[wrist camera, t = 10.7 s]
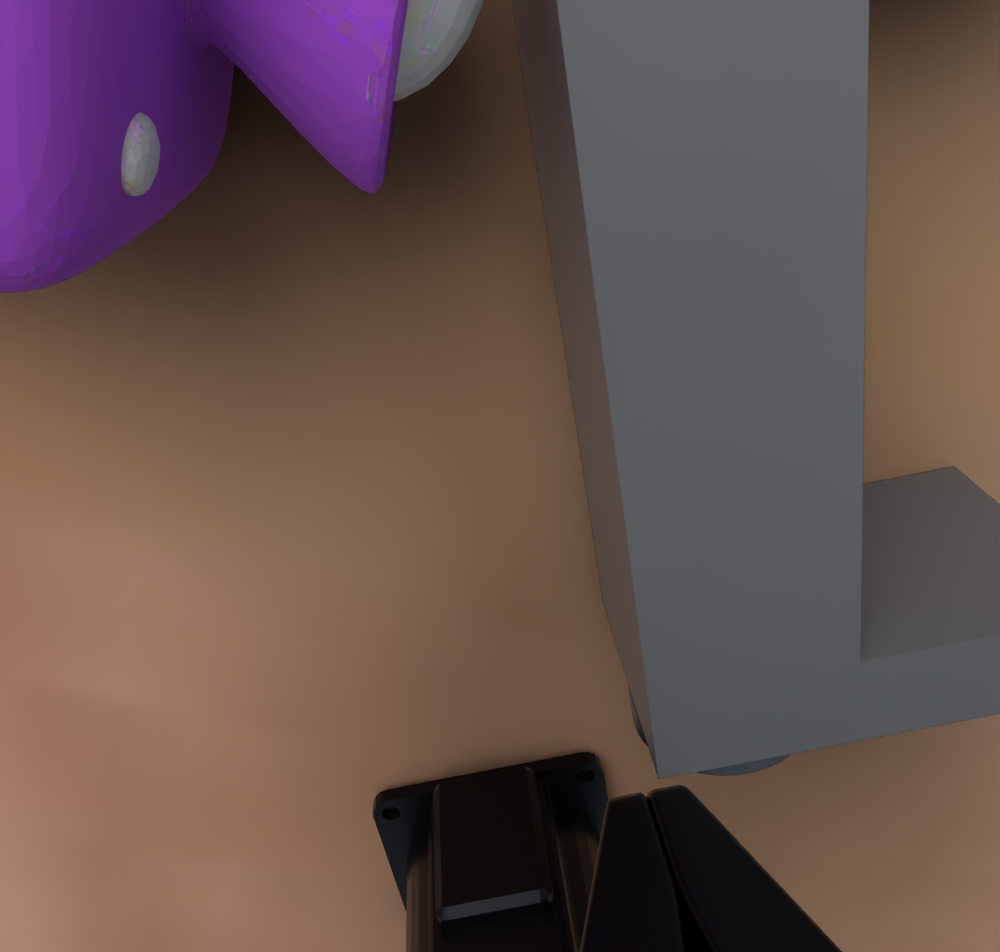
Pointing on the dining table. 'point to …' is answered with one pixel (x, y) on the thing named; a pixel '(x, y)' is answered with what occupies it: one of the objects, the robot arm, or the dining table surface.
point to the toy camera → (186, 105)
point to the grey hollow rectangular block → (743, 385)
